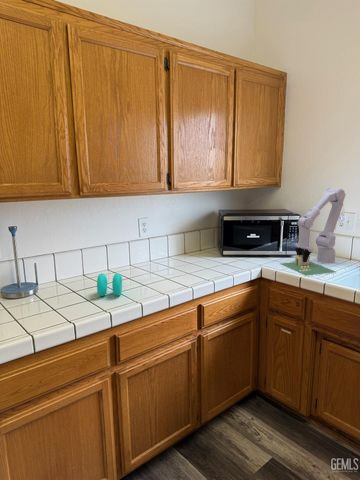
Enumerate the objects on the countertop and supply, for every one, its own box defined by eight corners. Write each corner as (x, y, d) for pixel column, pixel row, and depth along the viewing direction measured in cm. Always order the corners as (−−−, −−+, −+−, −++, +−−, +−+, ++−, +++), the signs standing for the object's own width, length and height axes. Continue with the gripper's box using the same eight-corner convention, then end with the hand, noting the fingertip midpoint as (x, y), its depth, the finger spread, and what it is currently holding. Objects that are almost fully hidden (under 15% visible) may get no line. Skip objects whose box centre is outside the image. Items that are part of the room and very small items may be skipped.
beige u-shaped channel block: (304, 262, 200) (305, 254, 199) (309, 264, 196) (310, 256, 195) (294, 263, 198) (295, 255, 197) (299, 265, 194) (299, 257, 193)
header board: (307, 261, 204) (308, 256, 203) (337, 273, 182) (337, 267, 181) (279, 264, 198) (279, 259, 198) (305, 276, 176) (306, 271, 175)
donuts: (100, 291, 155) (99, 270, 153) (122, 290, 156) (121, 270, 153) (97, 299, 145) (95, 277, 143) (120, 299, 146) (119, 277, 144)
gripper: (290, 236, 199) (288, 258, 202) (306, 241, 186) (304, 264, 189) (300, 235, 201) (298, 257, 204) (316, 240, 188) (315, 263, 191)
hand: (302, 261), depth 196 cm, fingers closed on beige u-shaped channel block, 4 cm apart
